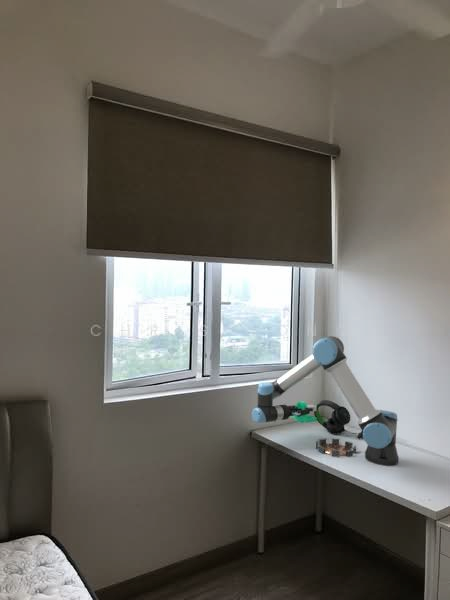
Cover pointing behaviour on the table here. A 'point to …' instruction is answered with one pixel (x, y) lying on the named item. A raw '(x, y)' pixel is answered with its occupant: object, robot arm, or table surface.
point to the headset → (335, 418)
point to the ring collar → (335, 448)
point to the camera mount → (304, 417)
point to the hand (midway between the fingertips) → (314, 407)
